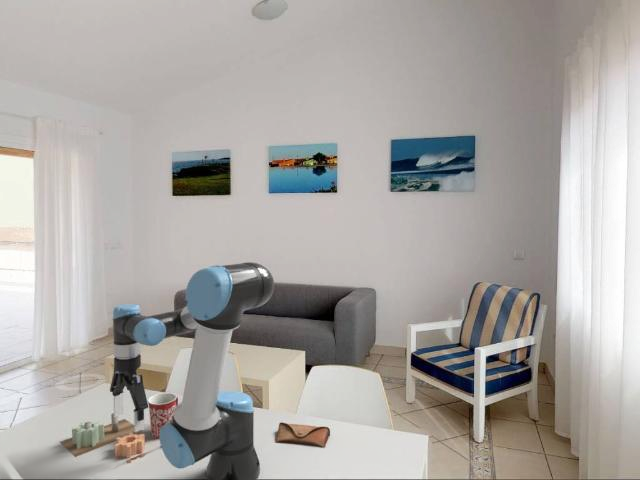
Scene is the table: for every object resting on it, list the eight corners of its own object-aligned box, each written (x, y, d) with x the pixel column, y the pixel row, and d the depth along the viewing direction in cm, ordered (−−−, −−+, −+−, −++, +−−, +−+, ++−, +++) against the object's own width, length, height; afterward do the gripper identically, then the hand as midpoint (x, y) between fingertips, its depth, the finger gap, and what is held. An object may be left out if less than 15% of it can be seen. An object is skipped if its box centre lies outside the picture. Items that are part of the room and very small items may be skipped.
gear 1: (107, 441, 141) (107, 425, 140) (80, 451, 135) (79, 435, 134) (96, 431, 147) (95, 417, 146) (69, 441, 140) (68, 426, 140)
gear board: (142, 435, 148) (141, 413, 147) (75, 461, 132) (74, 437, 131) (124, 422, 156) (124, 402, 156) (60, 446, 140) (59, 423, 140)
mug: (166, 446, 140) (166, 405, 140) (143, 442, 143) (142, 402, 142) (188, 427, 153) (188, 390, 152) (166, 424, 155) (165, 387, 154)
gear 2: (151, 449, 138) (150, 434, 138) (135, 464, 130) (134, 448, 130) (125, 446, 140) (125, 431, 140) (108, 461, 132) (107, 445, 132)
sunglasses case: (272, 442, 142) (274, 420, 145) (277, 443, 149) (279, 422, 152) (326, 447, 139) (328, 425, 142) (329, 448, 146) (330, 427, 149)
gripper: (159, 361, 128) (160, 431, 130) (121, 343, 144) (122, 406, 146) (134, 368, 122) (136, 441, 124) (97, 349, 139) (99, 413, 140)
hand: (128, 422), depth 135 cm, fingers open, 13 cm apart
